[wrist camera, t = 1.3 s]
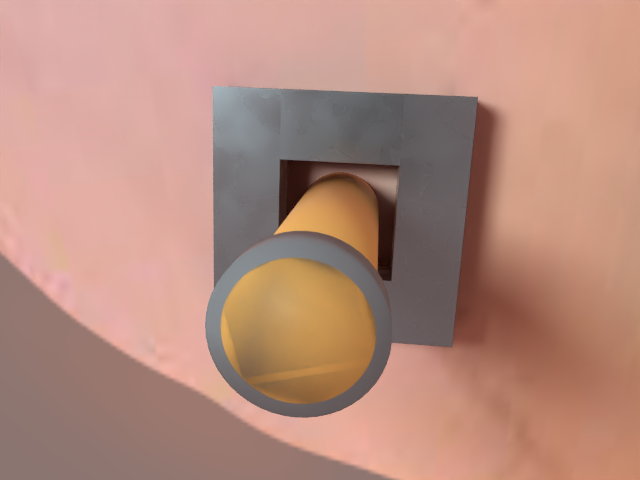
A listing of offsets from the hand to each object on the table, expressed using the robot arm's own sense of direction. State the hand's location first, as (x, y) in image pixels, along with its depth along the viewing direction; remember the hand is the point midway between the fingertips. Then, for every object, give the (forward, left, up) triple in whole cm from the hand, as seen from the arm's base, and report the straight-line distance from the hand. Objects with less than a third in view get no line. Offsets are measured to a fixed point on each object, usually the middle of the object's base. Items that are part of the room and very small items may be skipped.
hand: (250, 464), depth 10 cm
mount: (0, 0, -21) cm, 21 cm away
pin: (0, 0, -21) cm, 21 cm away
